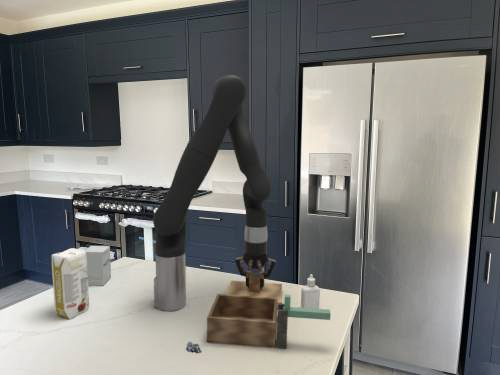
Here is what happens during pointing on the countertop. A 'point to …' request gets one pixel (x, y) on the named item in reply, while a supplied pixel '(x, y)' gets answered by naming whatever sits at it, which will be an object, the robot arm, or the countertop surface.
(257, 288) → the lid
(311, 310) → the green bar
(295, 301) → the countertop surface
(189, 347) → the blueberries
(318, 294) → the eye dropper bottle
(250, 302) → the wooden box
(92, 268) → the supplement box
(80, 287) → the juice carton
